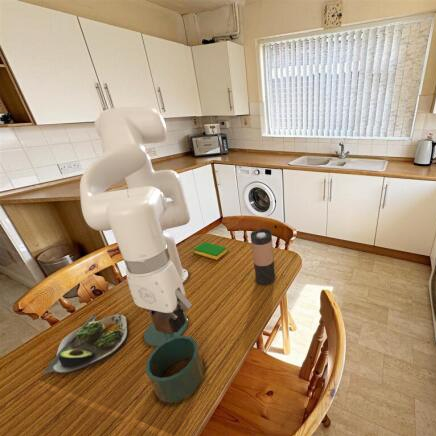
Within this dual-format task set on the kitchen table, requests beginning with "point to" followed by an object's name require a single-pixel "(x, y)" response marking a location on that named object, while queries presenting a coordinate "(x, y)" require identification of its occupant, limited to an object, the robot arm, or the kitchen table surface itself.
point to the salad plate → (89, 345)
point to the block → (163, 322)
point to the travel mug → (263, 255)
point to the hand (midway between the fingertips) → (170, 324)
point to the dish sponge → (210, 250)
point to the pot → (182, 381)
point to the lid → (161, 334)
